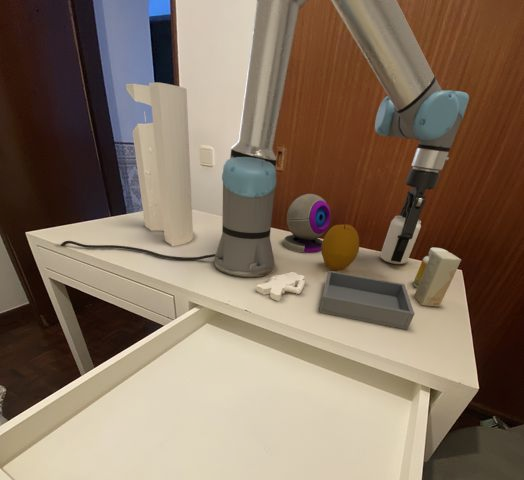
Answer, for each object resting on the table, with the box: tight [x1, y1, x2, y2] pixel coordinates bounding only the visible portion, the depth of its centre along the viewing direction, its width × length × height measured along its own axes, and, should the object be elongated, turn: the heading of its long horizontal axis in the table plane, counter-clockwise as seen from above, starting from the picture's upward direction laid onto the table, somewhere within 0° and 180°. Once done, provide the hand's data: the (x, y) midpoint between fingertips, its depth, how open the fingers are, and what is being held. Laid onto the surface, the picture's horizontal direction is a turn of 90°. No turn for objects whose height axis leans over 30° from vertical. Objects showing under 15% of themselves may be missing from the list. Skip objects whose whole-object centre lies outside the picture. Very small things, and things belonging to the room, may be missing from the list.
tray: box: [318, 270, 415, 330], centre depth 65 cm, size 18×15×4 cm
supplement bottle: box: [412, 247, 449, 289], centre depth 75 cm, size 5×5×10 cm
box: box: [413, 251, 462, 308], centre depth 68 cm, size 5×4×11 cm
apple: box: [320, 223, 360, 272], centre depth 80 cm, size 10×10×12 cm
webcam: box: [283, 193, 331, 254], centre depth 92 cm, size 13×13×15 cm
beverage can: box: [379, 215, 422, 265], centre depth 89 cm, size 8×8×12 cm
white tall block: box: [125, 81, 194, 247], centre depth 84 cm, size 35×11×21 cm
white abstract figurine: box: [256, 271, 306, 302], centre depth 69 cm, size 9×12×2 cm
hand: (394, 256), depth 91 cm, fingers closed on beverage can, 8 cm apart
